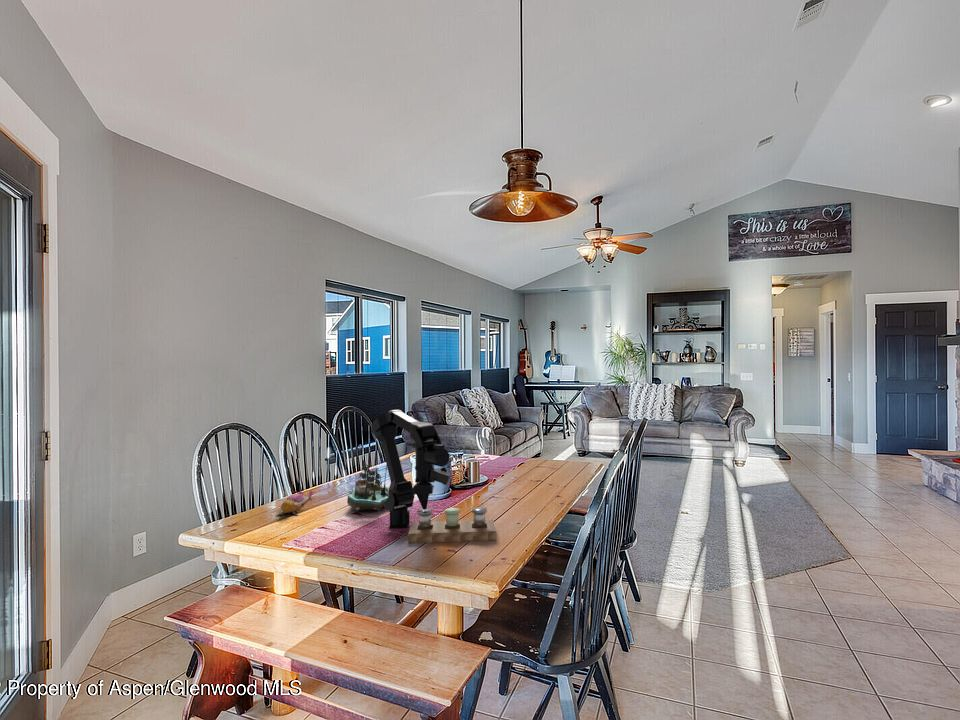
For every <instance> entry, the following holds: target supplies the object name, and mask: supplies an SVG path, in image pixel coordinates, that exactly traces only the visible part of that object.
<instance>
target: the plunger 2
mask: <svg viewBox="0 0 960 720" xmlns="http://www.w3.org/2000/svg"><path fill="white" fill-rule="evenodd" d="M487 512H488V509H487V508H486V507H482V506H478V507H473V508H471V513H472V514H473V515H472V517H473V520H472V521H473V524H474V525H484V524H485V520H486V513H487Z"/></svg>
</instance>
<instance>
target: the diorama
mask: <svg viewBox="0 0 960 720" xmlns="http://www.w3.org/2000/svg"><path fill="white" fill-rule="evenodd" d="M370 465H371V463H369V464H364V467H361V471H362V472H360V473H358V476H359V478H358V480H356V481H355V485H354V486H355V488H354V489H353V488H351V491H349V493H348V495H347V499H346V500H347V505H348V506H349V507H351V508H352V509H354V510H356V511H358V512H359V511H360V512H362V511H371V510H372V511H378V512H379V511H380V510H381V509H383V508H385V504H384V503H385V501H386V500H387V498H388V497H389V492H388V490H389V487H386V485H387V484H386V478H387V472H385V473H384V475H385V476H384V481H382V480H381V479H382V475H381V474H380V473H379V472H378V471H379V468H375V470H371V469H370ZM385 471H388V468H387V464H386V466H385ZM383 482H384V483H383ZM382 483H383V485H382Z"/></svg>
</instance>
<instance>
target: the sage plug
mask: <svg viewBox="0 0 960 720" xmlns="http://www.w3.org/2000/svg"><path fill="white" fill-rule="evenodd" d="M460 513H461V511H460V508H457V507H448V508H445V509H444V514H445V517H446V518H445V521H446V525H448V526H456V525H458V521H459V514H460Z"/></svg>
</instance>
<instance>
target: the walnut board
mask: <svg viewBox="0 0 960 720" xmlns="http://www.w3.org/2000/svg"><path fill="white" fill-rule="evenodd" d="M410 523H411V524H410V527H409V531H408V535H407V537H408V544H421V543H424V544H426V543H453V542H454V543H455V542H456V543H458V542H459V543H462V542H482V541H483V542H491V541H493V542H495V541H496V542H497V532H496V531H497V530H496V526H495V521H494V519H485V524H484V525H474V524H473V520H458V525H456V526H448V525H446V520H444V521H443V520H442V521H441V520H440V521H431V526H428V527H421V526H419V521H411V522H410Z"/></svg>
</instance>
